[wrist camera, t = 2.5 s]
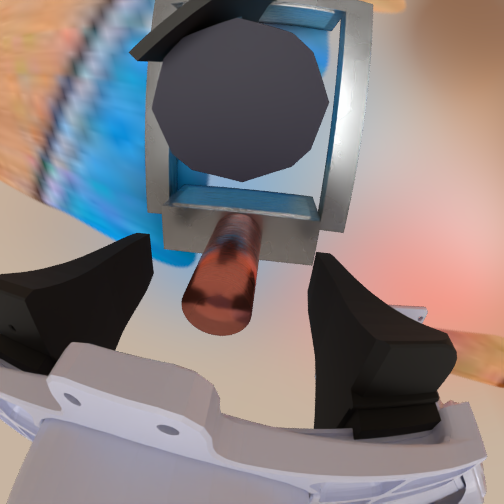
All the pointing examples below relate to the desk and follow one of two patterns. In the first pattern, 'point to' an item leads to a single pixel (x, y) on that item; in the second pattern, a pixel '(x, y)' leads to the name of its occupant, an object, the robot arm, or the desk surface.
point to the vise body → (344, 109)
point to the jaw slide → (235, 246)
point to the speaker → (233, 89)
